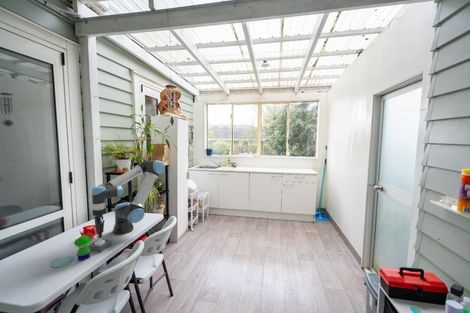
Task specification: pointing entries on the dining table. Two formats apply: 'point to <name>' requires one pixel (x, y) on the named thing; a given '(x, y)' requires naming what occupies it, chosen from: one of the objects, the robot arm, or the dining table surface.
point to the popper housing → (100, 246)
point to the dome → (100, 242)
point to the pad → (62, 261)
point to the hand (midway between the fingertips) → (99, 241)
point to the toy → (83, 247)
